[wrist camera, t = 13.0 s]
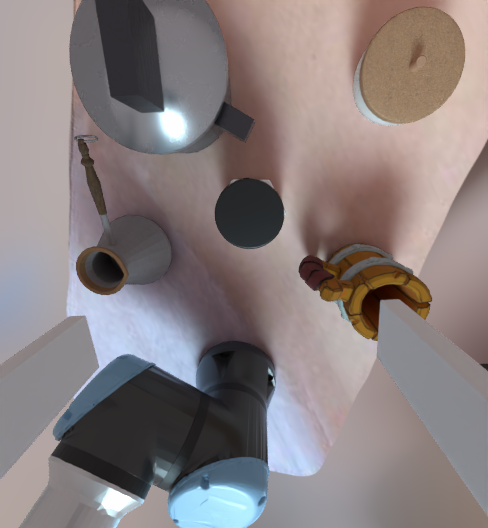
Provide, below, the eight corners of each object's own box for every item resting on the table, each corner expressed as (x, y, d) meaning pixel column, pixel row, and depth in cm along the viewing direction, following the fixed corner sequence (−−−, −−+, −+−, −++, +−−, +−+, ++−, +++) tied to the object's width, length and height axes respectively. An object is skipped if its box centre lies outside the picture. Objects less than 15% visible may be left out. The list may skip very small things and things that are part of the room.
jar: (244, 165, 40) (237, 160, 29) (290, 193, 41) (300, 199, 30) (216, 216, 43) (200, 229, 32) (259, 241, 44) (258, 264, 33)
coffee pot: (175, 282, 47) (138, 327, 33) (112, 273, 48) (48, 314, 33) (180, 152, 41) (136, 138, 26) (106, 143, 41) (23, 125, 27)
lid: (233, 152, 31) (223, 143, 23) (99, 158, 32) (47, 152, 24) (225, -27, 26) (208, -115, 18) (68, -12, 27) (-11, -89, 19)
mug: (372, 311, 46) (421, 370, 32) (283, 282, 46) (292, 329, 32) (403, 254, 43) (472, 293, 29) (307, 222, 43) (329, 245, 28)
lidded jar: (342, 138, 38) (366, 126, 30) (341, 49, 35) (368, 6, 26) (421, 127, 37) (470, 111, 28) (427, 35, 34) (485, -16, 25)
